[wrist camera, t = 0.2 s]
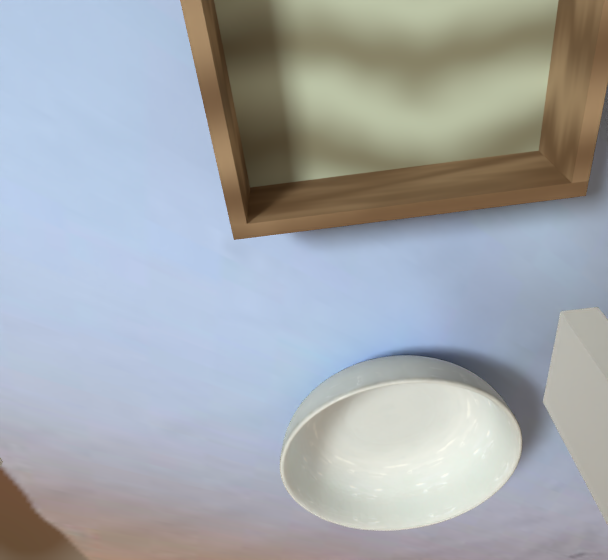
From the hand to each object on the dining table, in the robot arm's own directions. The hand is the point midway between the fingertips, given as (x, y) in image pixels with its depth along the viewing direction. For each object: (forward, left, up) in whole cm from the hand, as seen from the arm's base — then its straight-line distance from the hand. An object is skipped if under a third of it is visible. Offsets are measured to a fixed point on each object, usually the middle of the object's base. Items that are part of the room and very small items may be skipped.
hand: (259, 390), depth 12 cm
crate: (-1, +7, -27) cm, 28 cm away
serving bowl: (+32, +6, -28) cm, 43 cm away
